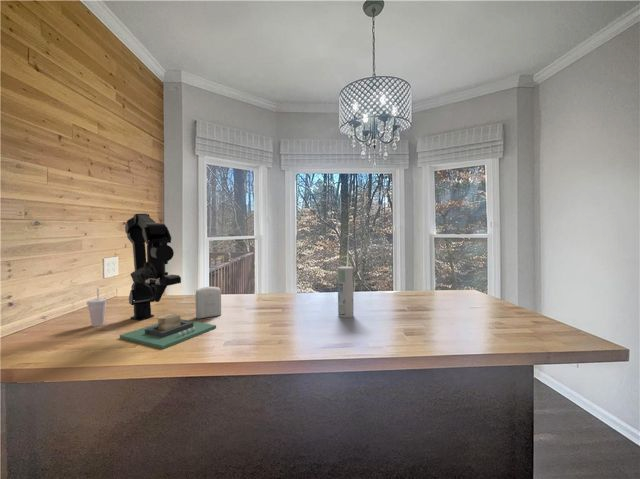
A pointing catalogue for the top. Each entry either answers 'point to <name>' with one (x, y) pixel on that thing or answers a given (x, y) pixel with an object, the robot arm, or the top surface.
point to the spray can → (345, 291)
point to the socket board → (167, 334)
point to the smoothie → (97, 310)
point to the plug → (168, 321)
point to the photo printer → (208, 302)
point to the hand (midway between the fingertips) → (157, 301)
